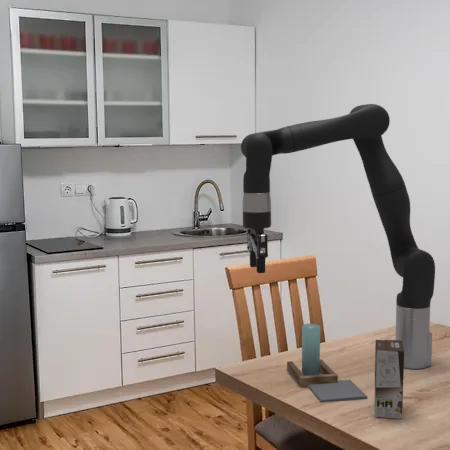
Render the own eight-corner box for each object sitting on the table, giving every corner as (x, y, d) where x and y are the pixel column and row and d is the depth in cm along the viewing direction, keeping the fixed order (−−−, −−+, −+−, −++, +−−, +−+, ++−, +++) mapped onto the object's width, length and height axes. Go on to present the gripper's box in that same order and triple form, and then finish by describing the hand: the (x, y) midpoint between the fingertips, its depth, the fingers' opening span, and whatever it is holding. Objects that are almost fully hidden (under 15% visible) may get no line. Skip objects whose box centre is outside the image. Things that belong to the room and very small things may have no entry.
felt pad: (350, 381, 182) (350, 379, 182) (367, 398, 170) (367, 396, 170) (306, 384, 180) (306, 382, 180) (320, 402, 168) (320, 399, 168)
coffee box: (403, 419, 158) (404, 351, 155) (374, 417, 159) (375, 349, 157) (401, 404, 166) (402, 339, 164) (374, 402, 168) (375, 338, 166)
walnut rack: (321, 367, 193) (321, 359, 192) (337, 384, 180) (337, 375, 179) (286, 370, 191) (287, 361, 191) (300, 387, 178) (300, 378, 178)
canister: (316, 372, 189) (317, 323, 187) (322, 378, 184) (322, 328, 182) (299, 374, 188) (300, 324, 186) (304, 380, 183) (305, 329, 182)
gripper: (277, 211, 175) (277, 274, 177) (264, 206, 189) (265, 264, 191) (248, 212, 174) (249, 275, 176) (237, 207, 188) (238, 265, 190)
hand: (257, 269), depth 184 cm, fingers open, 8 cm apart
